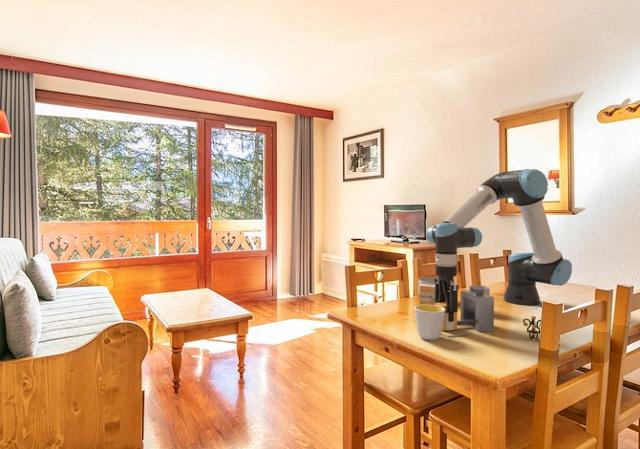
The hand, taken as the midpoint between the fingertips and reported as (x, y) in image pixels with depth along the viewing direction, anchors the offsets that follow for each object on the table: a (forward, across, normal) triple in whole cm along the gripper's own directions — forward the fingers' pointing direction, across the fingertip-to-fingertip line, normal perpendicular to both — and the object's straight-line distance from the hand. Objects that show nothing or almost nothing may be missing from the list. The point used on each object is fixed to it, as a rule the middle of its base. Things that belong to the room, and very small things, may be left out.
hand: (445, 327), depth 141 cm
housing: (0, 0, +12) cm, 13 cm away
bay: (0, 0, 0) cm, 0 cm away
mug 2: (+1, -18, +26) cm, 31 cm away
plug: (0, 0, +8) cm, 8 cm away
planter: (+1, -40, +14) cm, 43 cm away
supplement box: (+1, -16, +2) cm, 16 cm away
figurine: (+1, +16, +24) cm, 28 cm away
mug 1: (+1, +7, -9) cm, 11 cm away
